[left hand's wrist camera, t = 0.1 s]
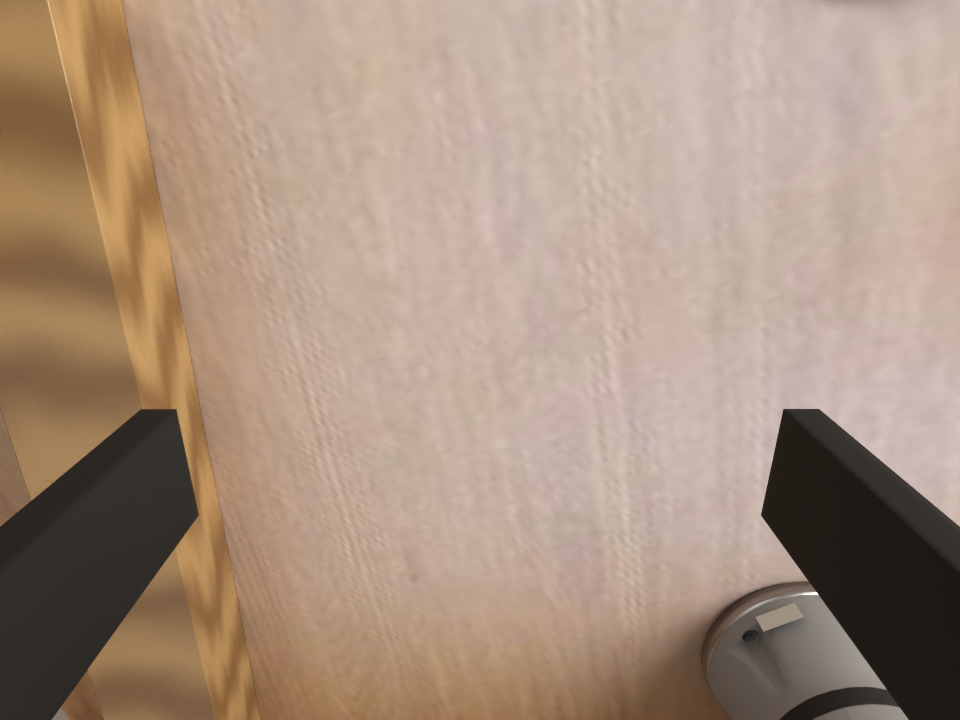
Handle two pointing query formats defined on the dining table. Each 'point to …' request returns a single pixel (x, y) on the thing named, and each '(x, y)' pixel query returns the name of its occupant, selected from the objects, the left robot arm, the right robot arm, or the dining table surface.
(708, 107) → the dining table surface
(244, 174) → the dining table surface
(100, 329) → the slab
